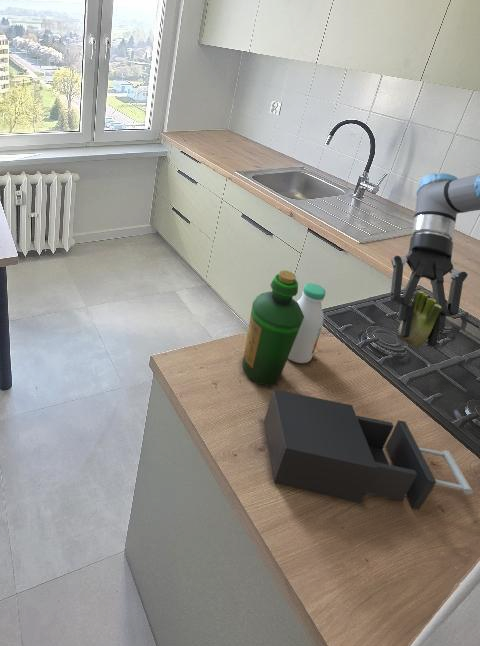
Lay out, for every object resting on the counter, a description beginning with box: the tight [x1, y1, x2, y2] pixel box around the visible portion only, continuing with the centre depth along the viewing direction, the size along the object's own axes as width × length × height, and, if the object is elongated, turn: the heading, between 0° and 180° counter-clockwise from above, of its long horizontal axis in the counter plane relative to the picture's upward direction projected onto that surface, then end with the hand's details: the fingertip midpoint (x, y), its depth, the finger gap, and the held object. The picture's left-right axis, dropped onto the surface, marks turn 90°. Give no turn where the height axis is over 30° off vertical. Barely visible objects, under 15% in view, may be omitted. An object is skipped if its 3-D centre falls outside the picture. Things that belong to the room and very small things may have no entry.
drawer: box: [356, 414, 474, 511], centre depth 76 cm, size 21×11×8 cm, turn 78°
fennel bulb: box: [397, 290, 442, 348], centre depth 90 cm, size 6×5×12 cm
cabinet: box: [263, 389, 377, 504], centre depth 79 cm, size 15×13×10 cm
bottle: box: [242, 270, 304, 386], centre depth 94 cm, size 11×11×28 cm
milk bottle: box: [287, 282, 326, 364], centre depth 102 cm, size 8×8×20 cm
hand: (418, 340), depth 87 cm, fingers closed on fennel bulb, 4 cm apart
